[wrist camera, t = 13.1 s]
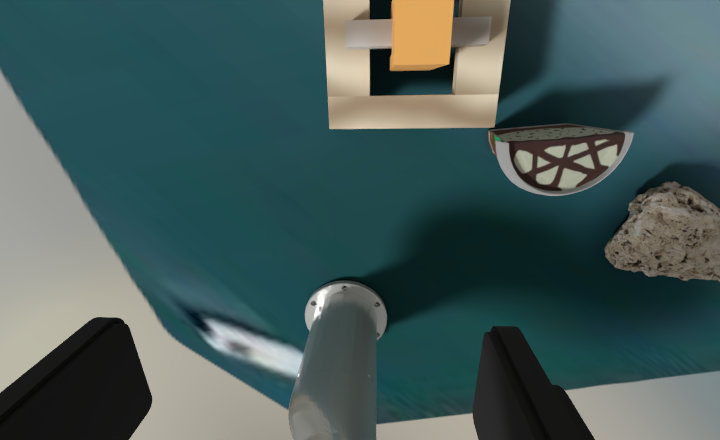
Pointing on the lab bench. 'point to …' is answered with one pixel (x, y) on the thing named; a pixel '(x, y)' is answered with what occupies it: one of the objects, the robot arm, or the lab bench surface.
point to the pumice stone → (669, 235)
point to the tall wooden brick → (421, 34)
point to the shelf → (460, 110)
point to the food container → (558, 156)
